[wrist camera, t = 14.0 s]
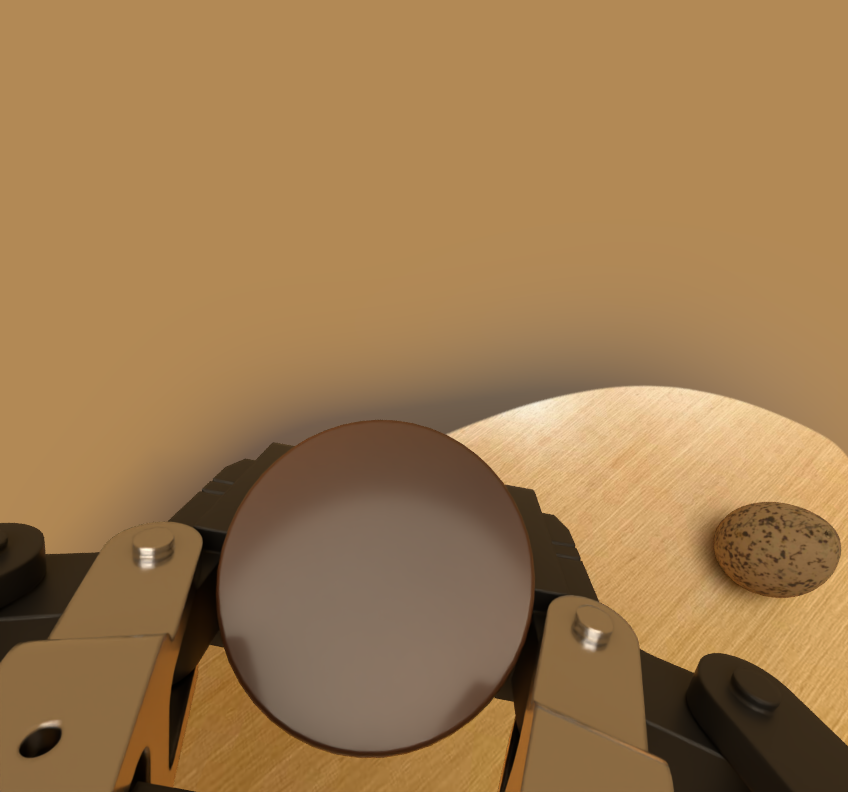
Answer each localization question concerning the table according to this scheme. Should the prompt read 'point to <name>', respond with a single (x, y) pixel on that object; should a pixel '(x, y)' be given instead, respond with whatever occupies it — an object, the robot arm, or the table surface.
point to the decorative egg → (777, 549)
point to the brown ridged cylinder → (375, 589)
